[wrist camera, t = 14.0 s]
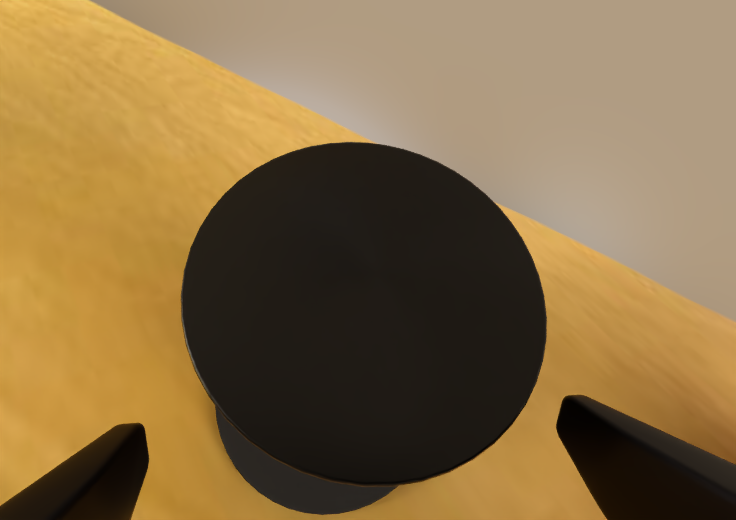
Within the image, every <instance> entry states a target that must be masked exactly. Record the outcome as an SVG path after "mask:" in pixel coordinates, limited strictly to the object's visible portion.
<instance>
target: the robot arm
mask: <svg viewBox="0 0 736 520" xmlns="http://www.w3.org/2000/svg"><path fill="white" fill-rule="evenodd" d="M556 429H557V433H558V436H559V438H560V439H561V441H562V443H563V445H564V446H565V448H566V450H567V452H568V454H569V455H570V457H571V459H572V461H573V462H574V464H575V466H576V468H577V470H578V471H579V473H580V475H581V477H582V478H583V480H584V482H585V484H586V486H587V487H588V489H589V491H590V493H591V494H592V496H593V498H594V499H595V501H596V503H597V504H598V506H599V508H600V509H601V511H602V512H603V514H604V515H605V517H606V518H607V520H736V465H735V464H733V463H731V462H728V461H726V460H724V459H722V458H720V457H718V456H715V455H713V454H711V453H709V452H707V451H704V450H702V449H700V448H698V447H696V446H694V445H691V444H689V443H687V442H685V441H683V440H680V439H678V438H676V437H674V436H672V435H670V434H667V433H665V432H663V431H661V430H659V429H656V428H654V427H652V426H650V425H648V424H646V423H643V422H641V421H639V420H637V419H635V418H632V417H630V416H628V415H626V414H624V413H622V412H619V411H617V410H615V409H613V408H611V407H608V406H606V405H604V404H602V403H600V402H598V401H595V400H593V399H591V398H589V397H587V396H584V395H569V396H566V397H565V398H564V399H563V400H562V404H561V408H560V412H559V415H558V419H557V424H556ZM148 464H149V454H148V447H147V441H146V434H145V428H144V426H143V425H142V424H140V423H130V424H119V425H117V426H115V427H113V428H112V429H110V430H109V431H107V432H106V433H105V434H103V435H102V436H100V437H99V438H97V439H96V440H94V441H93V442H92V443H90V444H89V445H87V446H86V447H84V448H83V449H81V450H80V451H79V452H77V453H76V454H74V455H73V456H71V457H70V458H69V459H67V460H66V461H64V462H63V463H61V464H60V465H58V466H57V467H56V468H54V469H53V470H51V471H50V472H48V473H47V474H45V475H44V476H43V477H41V478H40V479H38V480H37V481H35V482H34V483H33V484H31V485H30V486H28V487H27V488H25V489H24V490H22V491H21V492H20V493H18V494H17V495H15V496H14V497H12V498H11V499H9V500H8V501H7V502H5V503H4V504H2V505H1V506H0V520H131V517H132V514H133V511H134V508H135V505H136V502H137V499H138V496H139V493H140V490H141V487H142V484H143V481H144V478H145V475H146V472H147V469H148Z"/></svg>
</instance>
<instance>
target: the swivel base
mask: <svg viewBox="0 0 736 520" xmlns="http://www.w3.org/2000/svg"><path fill="white" fill-rule="evenodd" d="M215 408H216V418H217V424H218V428H219V432H220V436H221V439H222V441H223V444H224V446H225V449H226V451H227V453H228V455H229V457H230V459H231V460H232V462H233V464H234V466H235V467H236V469H237V470H238V471H239V472H240V474H241V475H242V476H243V477H244V479H245V480H246V481H247V482H248V483H249V484H250V485H252V486H253V487H254V488H255V489H256V490H257V491H258V492H259V493H261V494H262V495H264V496H265V497H267V498H268V499H270V500H272V501H273V502H275V503H278V504H280V505H282V506H284V507H286V508H289V509H292V510H296V511H300V512H304V513H311V514H321V515H323V514H339V513H344V512H349V511H353V510H357V509H359V508H362V507H364V506H367V505H370V504H372V503H374V502H375V501H377V500H379V499H381V498H382V497H384V496H386V495H387V494H389V493H390V492H391V491H392V490H394V489H395V488H396V487H398V486H399V485H398V486H387V487H361V486H354V485H348V484H341V483H334V482H330V481H327V480H323V479H320V478H317V477H314V476H311V475H308V474H304V473H301V472H299V471H297V470H295V469H293V468H291V467H289V466H287V465H285V464H283V463H281V462H279V461H277V460H275V459H273V458H272V457H270V456H269V455H268V454H266V453H265V452H263V451H262V450H260V449H259V448H258V447H256V446H255V445H253V444H252V443H251V442H249V441H248V440H247V439H246V438H245V437H244V436H243V435H242V434H241V433H240V432H239V431H237V430H236V429H235V428H234V427H233V426H232V425H231V424H230V423H229V422H228V421H227V420H226V419H225V417H224V416H223V415H222V413H221V412H220V411H219V409H218V408H217V407H216V405H215Z"/></svg>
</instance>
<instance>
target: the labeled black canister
mask: <svg viewBox="0 0 736 520" xmlns="http://www.w3.org/2000/svg"><path fill="white" fill-rule="evenodd" d="M181 317H182V325H183V331H184V336H185V341H186V346H187V349H188V352H189V355H190V358H191V361H192V363H193V366H194V369H195V372H196V374H197V376H198V377H199V379H200V381H201V383H202V385H203V387H204V389H205V390H206V392H207V394H208V396H209V397H210V399H211V400H212V401H213V403H214V404H215V405H216V407H217V408H218V409H219V411H220V412H221V413H222V415H223V416H224V417H225V419H226V420H227V421H228V422H229V423H230V424H231V425H232V426H233V427H234V428H235V429H236V430H237V431H239V432H240V433H241V434H242V435H243V436H244V437H245V438H246V439H247V440H248V441H249V442H251V443H252V444H253V445H255V446H256V447H258V448H259V449H260V450H262V451H263V452H265V453H266V454H268V455H269V456H270V457H272V458H273V459H275V460H277V461H279V462H281V463H283V464H285V465H287V466H289V467H291V468H293V469H295V470H297V471H299V472H301V473H304V474H308V475H311V476H314V477H317V478H320V479H323V480H327V481H330V482H334V483H341V484H348V485H354V486H361V487H387V486H398V485H404V484H410V483H416V482H422V481H425V480H428V479H431V478H434V477H437V476H440V475H443V474H446V473H449V472H451V471H453V470H454V469H456V468H458V467H460V466H462V465H464V464H466V463H468V462H469V461H471V460H473V459H475V458H476V457H477V456H479V455H480V454H481V453H482V452H484V451H485V450H486V449H488V448H489V447H490V446H492V445H493V444H494V443H495V442H496V441H497V440H498V439H499V438H500V437H501V436H502V435H503V434H504V433H505V432H506V431H507V430H508V429H509V428H510V426H511V425H512V424H513V423H514V421H515V420H516V418H517V417H518V415H519V414H520V412H521V411H522V409H523V408H524V407H525V405H526V403H527V401H528V399H529V397H530V395H531V393H532V391H533V388H534V386H535V384H536V382H537V379H538V375H539V372H540V369H541V366H542V362H543V357H544V351H545V344H546V323H547V317H546V308H545V300H544V294H543V290H542V286H541V282H540V278H539V275H538V272H537V269H536V267H535V264H534V261H533V259H532V256H531V254H530V253H529V251H528V249H527V247H526V245H525V243H524V241H523V239H522V237H521V236H520V234H519V233H518V231H517V230H516V228H515V227H514V225H513V224H512V222H511V221H510V220H509V219H508V218H507V216H506V215H505V214H504V213H503V211H502V210H501V209H500V208H499V207H498V206H497V205H496V204H495V203H494V202H493V201H492V200H491V199H490V198H489V197H488V196H487V195H486V194H485V193H484V192H482V191H481V190H480V189H479V188H478V187H476V186H475V185H474V184H473V183H472V182H470V181H469V180H467V179H466V178H464V177H463V176H461V175H460V174H458V173H457V172H455V171H453V170H452V169H450V168H448V167H446V166H444V165H443V164H441V163H439V162H437V161H434V160H432V159H430V158H427V157H425V156H422V155H420V154H417V153H414V152H411V151H408V150H404V149H400V148H396V147H391V146H387V145H381V144H373V143H360V142H342V143H328V144H322V145H317V146H311V147H307V148H303V149H300V150H296V151H293V152H290V153H287V154H285V155H282V156H280V157H277V158H275V159H273V160H271V161H269V162H267V163H265V164H263V165H262V166H260V167H258V168H256V169H255V170H253V171H252V172H250V173H249V174H248V175H246V176H245V177H243V178H242V179H240V180H239V181H238V182H237V183H236V184H235V185H234V186H233V187H232V188H230V189H229V190H228V191H227V192H226V193H225V194H224V195H223V196H222V198H221V199H220V200H219V201H218V202H217V203H216V205H215V206H214V207H213V208H212V209H211V211H210V212H209V214H208V216H207V217H206V219H205V220H204V222H203V223H202V225H201V227H200V228H199V231H198V233H197V235H196V237H195V239H194V242H193V244H192V246H191V248H190V252H189V255H188V259H187V262H186V266H185V269H184V275H183V283H182V291H181Z"/></svg>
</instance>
